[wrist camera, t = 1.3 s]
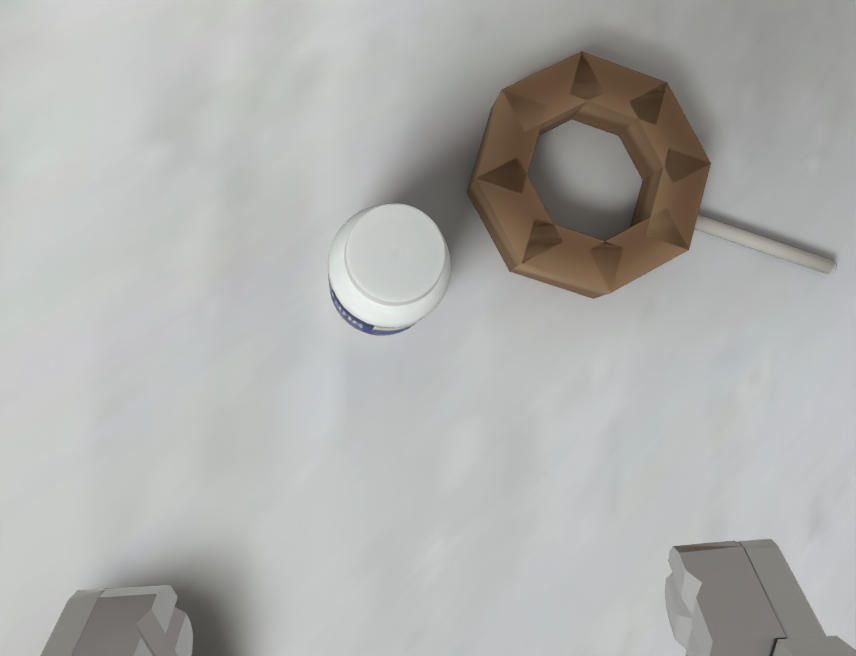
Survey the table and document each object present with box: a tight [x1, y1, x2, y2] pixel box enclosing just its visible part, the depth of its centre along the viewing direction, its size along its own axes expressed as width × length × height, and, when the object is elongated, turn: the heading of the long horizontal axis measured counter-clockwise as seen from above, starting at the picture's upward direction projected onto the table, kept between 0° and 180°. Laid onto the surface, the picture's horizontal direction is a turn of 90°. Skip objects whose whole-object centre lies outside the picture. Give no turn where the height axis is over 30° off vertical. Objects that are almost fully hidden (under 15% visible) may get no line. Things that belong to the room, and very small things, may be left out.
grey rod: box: [695, 214, 837, 274], centre depth 39 cm, size 10×1×1 cm, turn 74°
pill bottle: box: [328, 203, 451, 336], centre depth 31 cm, size 5×5×10 cm
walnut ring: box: [467, 52, 711, 298], centre depth 37 cm, size 12×12×2 cm
